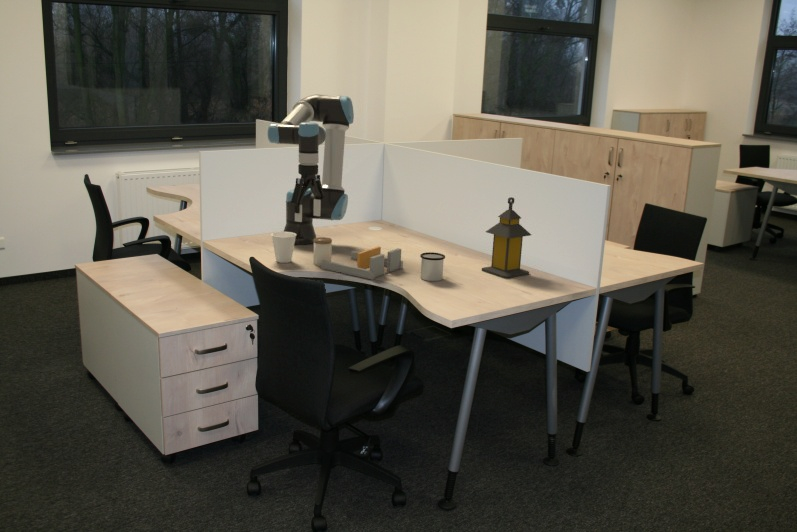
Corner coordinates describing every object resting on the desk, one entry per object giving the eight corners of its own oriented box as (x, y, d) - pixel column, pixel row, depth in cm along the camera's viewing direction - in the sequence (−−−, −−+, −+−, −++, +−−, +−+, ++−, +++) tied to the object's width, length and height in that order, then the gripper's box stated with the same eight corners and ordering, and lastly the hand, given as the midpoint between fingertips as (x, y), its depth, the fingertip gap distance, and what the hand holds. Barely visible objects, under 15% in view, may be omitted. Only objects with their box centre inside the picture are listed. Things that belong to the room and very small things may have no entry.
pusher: (377, 263, 297) (378, 246, 295) (397, 267, 292) (397, 250, 290) (357, 270, 285) (357, 253, 283) (376, 275, 280) (377, 257, 279)
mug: (436, 283, 276) (437, 259, 274) (414, 278, 281) (415, 255, 279) (451, 276, 286) (452, 253, 284) (430, 272, 291) (431, 249, 289)
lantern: (480, 270, 297) (485, 195, 289) (505, 265, 305) (511, 193, 298) (505, 279, 286) (511, 202, 279) (530, 274, 295) (537, 199, 287)
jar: (320, 260, 301) (321, 236, 299) (335, 263, 298) (335, 239, 295) (309, 264, 295) (309, 239, 293) (323, 267, 292) (324, 242, 289)
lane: (353, 258, 307) (353, 239, 305) (402, 268, 295) (403, 248, 293) (321, 268, 290) (321, 248, 288) (372, 279, 278) (373, 258, 276)
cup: (272, 257, 302) (272, 231, 299) (296, 258, 303) (297, 231, 300) (270, 264, 293) (270, 236, 290) (295, 264, 294) (295, 237, 291)
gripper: (316, 159, 296) (316, 212, 302) (281, 166, 275) (281, 222, 280) (333, 161, 293) (332, 214, 299) (299, 168, 272) (298, 225, 277)
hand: (307, 218), depth 289 cm, fingers open, 13 cm apart
